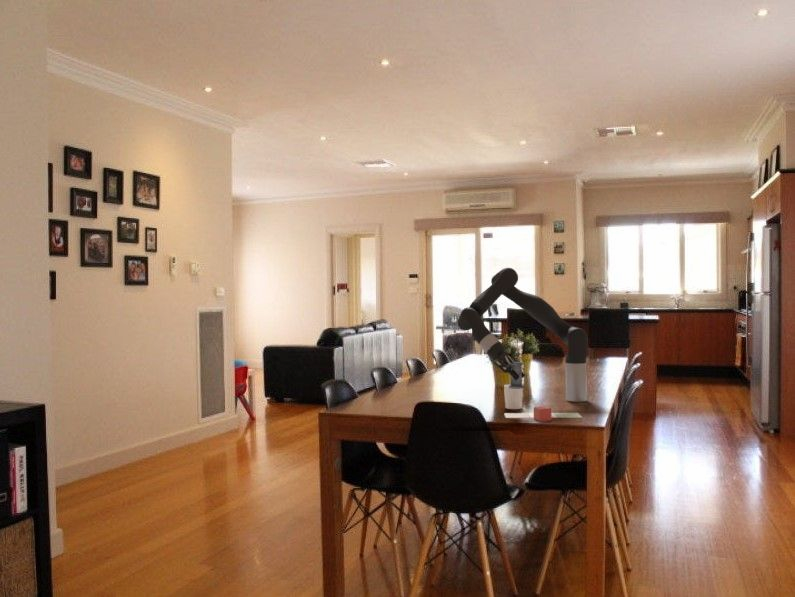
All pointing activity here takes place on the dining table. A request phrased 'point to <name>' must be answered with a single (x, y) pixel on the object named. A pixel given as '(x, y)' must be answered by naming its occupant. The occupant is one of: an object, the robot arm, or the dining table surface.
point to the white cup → (512, 397)
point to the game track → (553, 415)
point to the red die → (542, 413)
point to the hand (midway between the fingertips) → (520, 377)
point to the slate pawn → (518, 369)
